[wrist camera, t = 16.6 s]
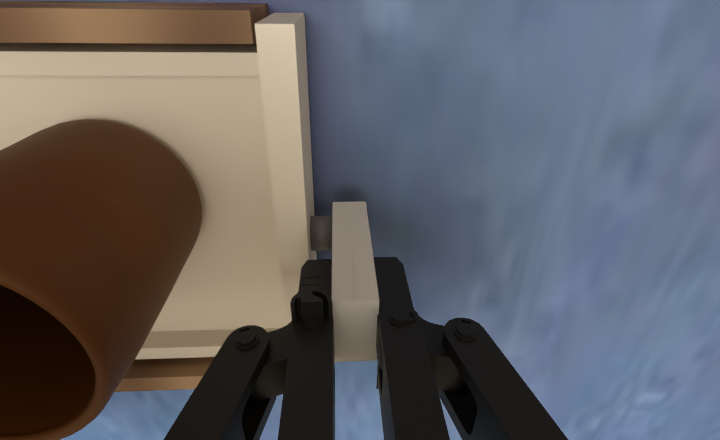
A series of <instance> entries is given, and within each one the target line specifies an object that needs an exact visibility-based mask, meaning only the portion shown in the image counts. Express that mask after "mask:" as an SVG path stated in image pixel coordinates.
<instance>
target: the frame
mask: <svg viewBox="0 0 720 440" xmlns="http://www.w3.org/2000/svg"><path fill="white" fill-rule="evenodd" d="M267 16H268V5H267V4H250V3H158V2H66V1H0V43H37V44H207V45H257V43H256V34H255V23H257V22H258V21H260V20H262V19H264V18H266V17H267ZM214 358H215V357H196V358H165V359H135V360H134V362H133V364H132V365H131V367H130V369H129V370H128V372H127V373H126V375H125V376H124V378H123V379H122V381H121V382H120V383H119V385H118V386H117V388H116V389H115V391H114V392H122V391H151V390H179V389H195V388H196V387H197V385H198V384H199V382H200V380H201V379H202V377H203V375H204V374H205V372H206V371H207V369H208V367H209V366H210V364H211V363H212V361H213V359H214Z"/></svg>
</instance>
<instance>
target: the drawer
mask: <svg viewBox="0 0 720 440" xmlns="http://www.w3.org/2000/svg"><path fill="white" fill-rule="evenodd" d="M255 34H256V43H257V45H207V44H37V43H0V150H2V149H4V148H6V147H8V146H10V145H12V144H14V143H16V142H18V141H20V140H22V139H24V138H26V137H28V136H30V135H32V134H34V133H36V132H38V131H40V130H43V129H45V128H48V127H51V126H53V125H56V124H59V123H63V122H68V121H73V120H83V119H97V120H106V121H112V122H116V123H120V124H123V125H127V126H129V127H132V128H134V129H137V130H139V131H141V132H143V133H145V134H147V135H149V136H151V137H152V138H154V139H155V140H157V141H158V142H160V143H161V144H163V145H164V146H165V147H166V148H167V149H169V150H170V151H171V152H172V153H173V154H174V155H175V156H176V157H177V158H178V159H179V160H180V161H181V162H182V164H183V165H184V166H185V168H186V169H187V170H188V172H189V173H190V175H191V177H192V178H193V180H194V182H195V185H196V187H197V189H198V192H199V195H200V199H201V205H202V222H201V227H200V232H199V235H198V238H197V240H196V243H195V245H194V247H193V249H192V251H191V253H190V255H189V257H188V259H187V261H186V263H185V265H184V267H183V269H182V271H181V273H180V275H179V277H178V279H177V281H176V283H175V285H174V287H173V289H172V291H171V293H170V295H169V297H168V299H167V300H166V302H165V304H164V306H163V308H162V310H161V312H160V314H159V316H158V318H157V319H156V321H155V323H154V325H153V327H152V329H151V331H150V333H149V335H148V337H147V338H146V340H145V342H144V344H143V346H142V348H141V350H140V351H139V353H138V355H137V357H136V358H135V359H165V358H196V357H215V356H216V354H217V353H218V351H219V350H220V348H221V346H222V345H223V343H224V342H225V340H226V338H227V337H228V336H229V335H230V334H231V333H232V332H233V331H234V330H236V329H238V328H240V327H243V326H247V325H256V326H259V327H262V328H264V329H265V330H266V331H267V332H270V331H274V330H277V329H280V328H282V327H284V326H286V325H287V324H289V323H290V322H291V321H292V317H291V307H290V302H291V299H292V297H293V296H294V295H296V294H297V293H298V290H299V282H300V273H301V267H302V266H303V265H304V264H305V262H306V261H307V260H317V255H316V251H332V216H315V215H314V195H313V175H312V155H311V136H310V116H309V96H308V76H307V56H306V36H305V16H304V13H273V14H271V15H269V16H267V17H266V18H264V19H262V20H260V21H258V22H257V23H255Z"/></svg>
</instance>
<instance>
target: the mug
mask: <svg viewBox="0 0 720 440" xmlns="http://www.w3.org/2000/svg"><path fill="white" fill-rule="evenodd" d="M201 222H202V205H201V199H200V195H199V192H198V189H197V187H196V185H195V182H194V180H193V178H192V177H191V175H190V173H189V172H188V170H187V169H186V168H185V166H184V165H183V164H182V162H181V161H180V160H179V159H178V158H177V157H176V156H175V155H174V154H173V153H172V152H171V151H170V150H169V149H167V148H166V147H165V146H164V145H163V144H161V143H160V142H158V141H157V140H155V139H154V138H152V137H151V136H149V135H147V134H145V133H143V132H141V131H139V130H137V129H134V128H132V127H129V126H127V125H123V124H120V123H116V122H112V121H106V120H97V119H83V120H73V121H68V122H63V123H59V124H56V125H53V126H51V127H48V128H45V129H43V130H40V131H38V132H36V133H34V134H32V135H30V136H28V137H26V138H24V139H22V140H20V141H18V142H16V143H14V144H12V145H10V146H8V147H6V148H4V149H2V150H0V440H60V439H62V438H65V437H67V436H70V435H72V434H74V433H75V432H77V431H79V430H81V429H82V428H83V427H85V426H86V425H87V424H89V423H90V422H91V421H92V420H94V419H95V418H96V417H97V416H98V415H99V414H100V412H101V411H102V410H103V409H104V407H105V406H106V404H107V403H108V401H109V399H110V398H111V396H112V394H113V393H114V391H115V389H116V388H117V386H118V385H119V383H120V382H121V381H122V379H123V378H124V376H125V375H126V373H127V372H128V370H129V369H130V367H131V365H132V364H133V362H134V360H135V358H136V357H137V355H138V353H139V351H140V350H141V348H142V346H143V344H144V342H145V340H146V338H147V337H148V335H149V333H150V331H151V329H152V327H153V325H154V323H155V321H156V319H157V318H158V316H159V314H160V312H161V310H162V308H163V306H164V304H165V302H166V300H167V299H168V297H169V295H170V293H171V291H172V289H173V287H174V285H175V283H176V281H177V279H178V277H179V275H180V273H181V271H182V269H183V267H184V265H185V263H186V261H187V259H188V257H189V255H190V253H191V251H192V249H193V247H194V245H195V243H196V240H197V238H198V235H199V232H200V227H201Z"/></svg>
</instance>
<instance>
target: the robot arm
mask: <svg viewBox="0 0 720 440" xmlns="http://www.w3.org/2000/svg"><path fill="white" fill-rule="evenodd" d="M290 307H291V317H292V321H291V322H290V323H289V324H287V325H286V326H284V327H282V328H280V329H277V330H274V331H270V332H267V331H266V330H265V329H264V328H262V327H259V326H256V325H247V326H243V327H240V328H238V329H236V330H234V331H233V332H232V333H231V334H230V335H229V336H228V337H227V338H226V340H225V342H224V343H223V345H222V346H221V348H220V350H219V351H218V353H217V354H216V356H215V358H214V359H213V361H212V363H211V364H210V366H209V367H208V369H207V371H206V372H205V374H204V375H203V377H202V379H201V380H200V382H199V384H198V385H197V387H196V388H195V390H194V392H193V393H192V395H191V396H190V398H189V400H188V401H187V403H186V404H185V406H184V408H183V409H182V411H181V413H180V414H179V416H178V417H177V419H176V421H175V422H174V424H173V425H172V427H171V429H170V430H169V432H168V434H167V435H166V437H165V438H164V440H259V439H260V436H261V434H262V431H263V429H264V426H265V424H266V422H267V419H268V417H269V414H270V412H271V410H272V407H273V405H274V402H275V400H276V396H278V395H281V394H283V401H282V410H281V418H280V426H279V435H278V440H335V367H334V362H343V361H371V360H378V369H377V389H379V395H380V404H381V414H382V424H383V433H384V440H450V438H449V434H448V430H447V426H446V422H445V418H444V414H443V410H442V406H441V402H440V398H441V400H442V402H443V404H444V406H445V408H446V409H447V411H448V413H449V415H450V417H451V419H452V421H453V423H454V425H455V426H456V428H457V430H458V432H459V434H460V436H461V438H462V440H568V439H567V437H566V436H565V435H564V434H563V432H562V431H561V430H560V428H559V427H558V426H557V424H556V423H555V422H554V420H553V419H552V418H551V416H550V415H549V414H548V412H547V411H546V410H545V408H544V407H543V406H542V404H541V403H540V402H539V401H538V399H537V398H536V397H535V395H534V394H533V393H532V391H531V390H530V389H529V387H528V386H527V385H526V383H525V382H524V381H523V379H522V378H521V377H520V375H519V374H518V373H517V371H516V370H515V369H514V368H513V366H512V365H511V364H510V362H509V361H508V360H507V358H506V357H505V356H504V354H503V353H502V352H501V350H500V349H499V348H498V346H497V345H496V344H495V342H494V341H493V340H492V338H491V337H490V336H489V334H488V333H487V332H486V331H485V329H484V328H483V327H482V326H481V325H480V324H479V323H477V322H475V321H473V320H471V319H467V318H454V319H452V320H449V321H448V322H447V323H446V325H445V326H442V325H437V324H433V323H430V322H427V321H425V320H423V319H422V318H421V317H419V315H418V313H417V312H416V311H414V308H413V304H412V300H411V296H410V292H409V287H408V283H407V279H406V275H405V271H404V266H403V264H402V263H401V262H400V261H399V260H398V259H397V257H373V251H372V244H371V236H370V229H369V222H368V215H367V207H366V202H333V210H332V259H323V260H307V261H306V262H305V264H304V265H303V266H302V267H301V273H300V282H299V290H298V293H297V294H296V295H294V296H293V297H292V299H291V302H290ZM439 396H440V398H439Z"/></svg>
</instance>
